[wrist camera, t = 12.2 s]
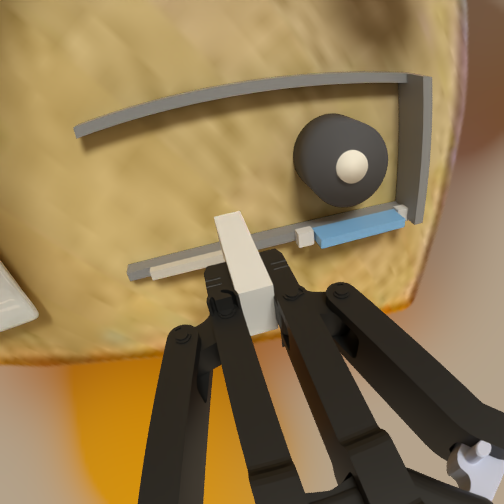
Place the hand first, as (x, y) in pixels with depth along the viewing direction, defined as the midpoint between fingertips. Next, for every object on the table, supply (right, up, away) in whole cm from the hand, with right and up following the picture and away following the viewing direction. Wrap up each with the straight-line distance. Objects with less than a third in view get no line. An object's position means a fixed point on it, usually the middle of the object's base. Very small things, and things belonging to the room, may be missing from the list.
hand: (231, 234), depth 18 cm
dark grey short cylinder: (+9, +9, +11) cm, 16 cm away
